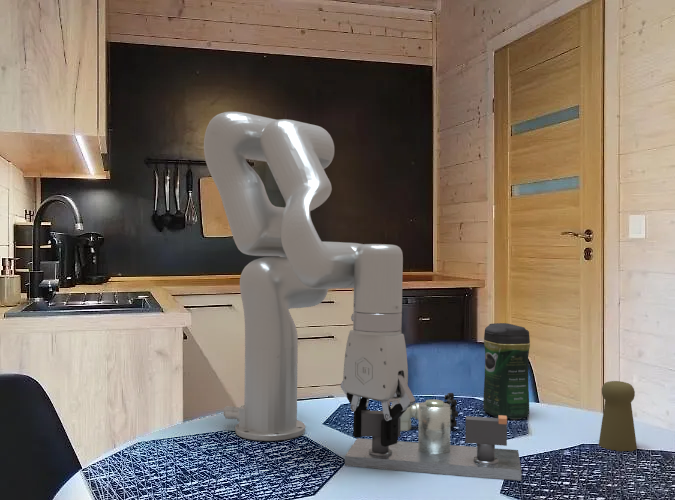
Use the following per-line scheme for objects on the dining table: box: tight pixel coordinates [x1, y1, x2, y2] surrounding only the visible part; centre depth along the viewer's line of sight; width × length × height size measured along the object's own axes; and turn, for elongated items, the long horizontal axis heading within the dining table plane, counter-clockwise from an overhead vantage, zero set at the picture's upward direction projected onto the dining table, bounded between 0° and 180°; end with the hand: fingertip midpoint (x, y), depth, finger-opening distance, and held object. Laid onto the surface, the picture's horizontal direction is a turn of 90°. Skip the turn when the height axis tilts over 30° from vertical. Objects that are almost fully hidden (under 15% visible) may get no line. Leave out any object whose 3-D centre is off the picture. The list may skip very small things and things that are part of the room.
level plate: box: [344, 398, 522, 482], centre depth 102 cm, size 26×10×9 cm, turn 77°
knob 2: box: [464, 415, 508, 462], centre depth 98 cm, size 6×3×6 cm, turn 77°
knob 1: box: [361, 410, 401, 453], centre depth 102 cm, size 6×3×6 cm, turn 89°
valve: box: [390, 392, 459, 432], centre depth 122 cm, size 7×7×12 cm
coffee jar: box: [482, 322, 531, 420], centre depth 133 cm, size 10×8×19 cm
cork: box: [598, 380, 638, 452], centre depth 112 cm, size 6×6×11 cm
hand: (375, 439), depth 102 cm, fingers open, 5 cm apart
